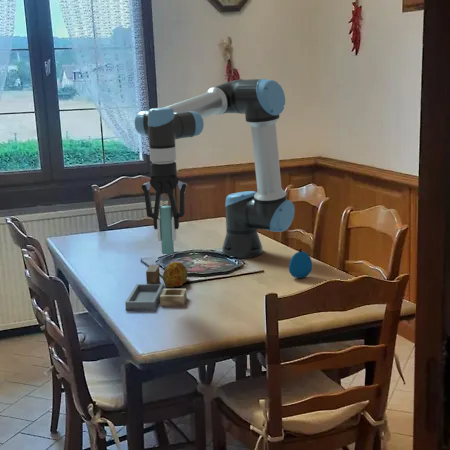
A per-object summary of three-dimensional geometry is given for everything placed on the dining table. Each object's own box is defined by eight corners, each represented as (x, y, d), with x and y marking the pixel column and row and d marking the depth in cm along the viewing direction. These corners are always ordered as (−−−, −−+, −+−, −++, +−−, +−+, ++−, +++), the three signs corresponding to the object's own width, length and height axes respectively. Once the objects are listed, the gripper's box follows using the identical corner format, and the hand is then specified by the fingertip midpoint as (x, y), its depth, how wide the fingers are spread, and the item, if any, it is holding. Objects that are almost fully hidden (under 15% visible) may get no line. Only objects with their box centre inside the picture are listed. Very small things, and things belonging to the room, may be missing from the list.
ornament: (308, 274, 234) (308, 245, 232) (314, 277, 230) (314, 248, 228) (286, 277, 232) (285, 248, 229) (292, 281, 227) (292, 252, 225)
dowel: (174, 251, 210) (172, 205, 207) (173, 254, 207) (170, 208, 203) (162, 251, 210) (160, 205, 207) (161, 254, 207) (158, 208, 203)
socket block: (186, 297, 215) (186, 288, 214) (183, 305, 208) (183, 296, 208) (164, 297, 216) (163, 288, 215) (160, 305, 209) (160, 296, 208)
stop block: (160, 282, 231) (159, 265, 229) (156, 289, 224) (155, 271, 222) (151, 282, 231) (150, 265, 229) (147, 289, 224) (146, 271, 223)
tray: (163, 291, 221) (163, 284, 221) (154, 310, 205) (153, 302, 205) (137, 291, 222) (136, 284, 222) (125, 310, 206) (125, 302, 205)
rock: (160, 296, 230) (161, 269, 235) (185, 297, 232) (185, 270, 237) (165, 281, 221) (166, 253, 226) (191, 283, 222) (191, 255, 227)
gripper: (193, 159, 205) (196, 236, 211) (137, 160, 206) (142, 236, 212) (190, 163, 198) (193, 242, 203) (132, 164, 199) (137, 243, 204)
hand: (167, 239), depth 207 cm, fingers closed on dowel, 3 cm apart
